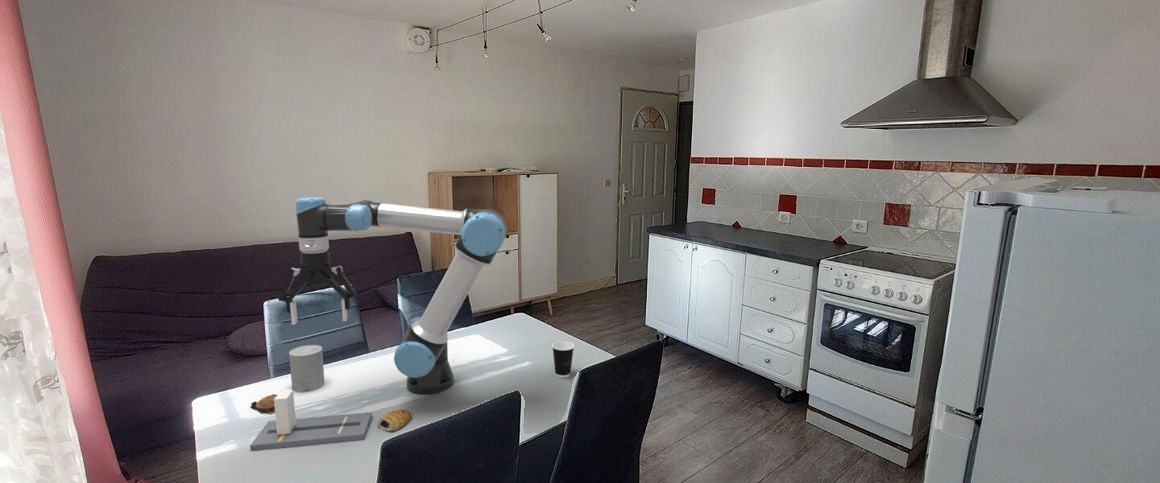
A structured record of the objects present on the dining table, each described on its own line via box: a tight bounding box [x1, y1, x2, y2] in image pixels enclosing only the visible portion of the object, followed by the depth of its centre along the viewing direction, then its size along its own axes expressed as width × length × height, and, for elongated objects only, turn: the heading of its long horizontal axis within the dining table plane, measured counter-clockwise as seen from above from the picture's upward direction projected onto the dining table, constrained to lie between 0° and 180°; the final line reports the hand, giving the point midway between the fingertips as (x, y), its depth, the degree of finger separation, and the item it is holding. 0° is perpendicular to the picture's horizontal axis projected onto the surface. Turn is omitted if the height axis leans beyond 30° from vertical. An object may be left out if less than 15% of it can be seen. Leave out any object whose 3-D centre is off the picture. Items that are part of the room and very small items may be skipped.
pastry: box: [376, 409, 412, 432], centre depth 140 cm, size 9×7×4 cm
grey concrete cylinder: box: [288, 344, 326, 393], centre depth 160 cm, size 10×10×12 cm
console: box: [249, 411, 373, 452], centre depth 134 cm, size 27×12×2 cm, turn 103°
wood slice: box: [249, 393, 278, 416], centre depth 148 cm, size 11×8×4 cm
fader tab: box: [274, 389, 297, 435], centre depth 131 cm, size 3×5×10 cm, turn 13°
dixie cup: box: [551, 340, 575, 379], centre depth 173 cm, size 8×8×11 cm
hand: (320, 321), depth 145 cm, fingers open, 13 cm apart
